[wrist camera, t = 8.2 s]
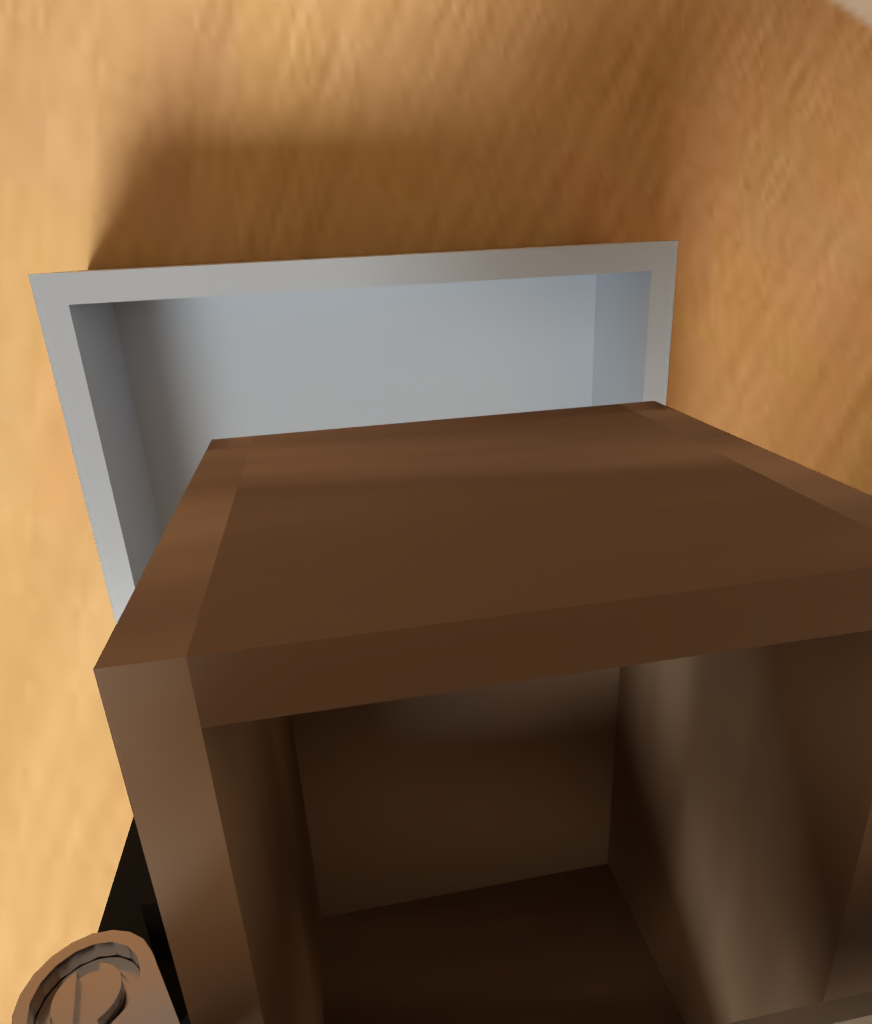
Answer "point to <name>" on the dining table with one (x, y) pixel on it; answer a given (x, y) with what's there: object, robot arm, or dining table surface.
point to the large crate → (331, 357)
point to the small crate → (504, 724)
